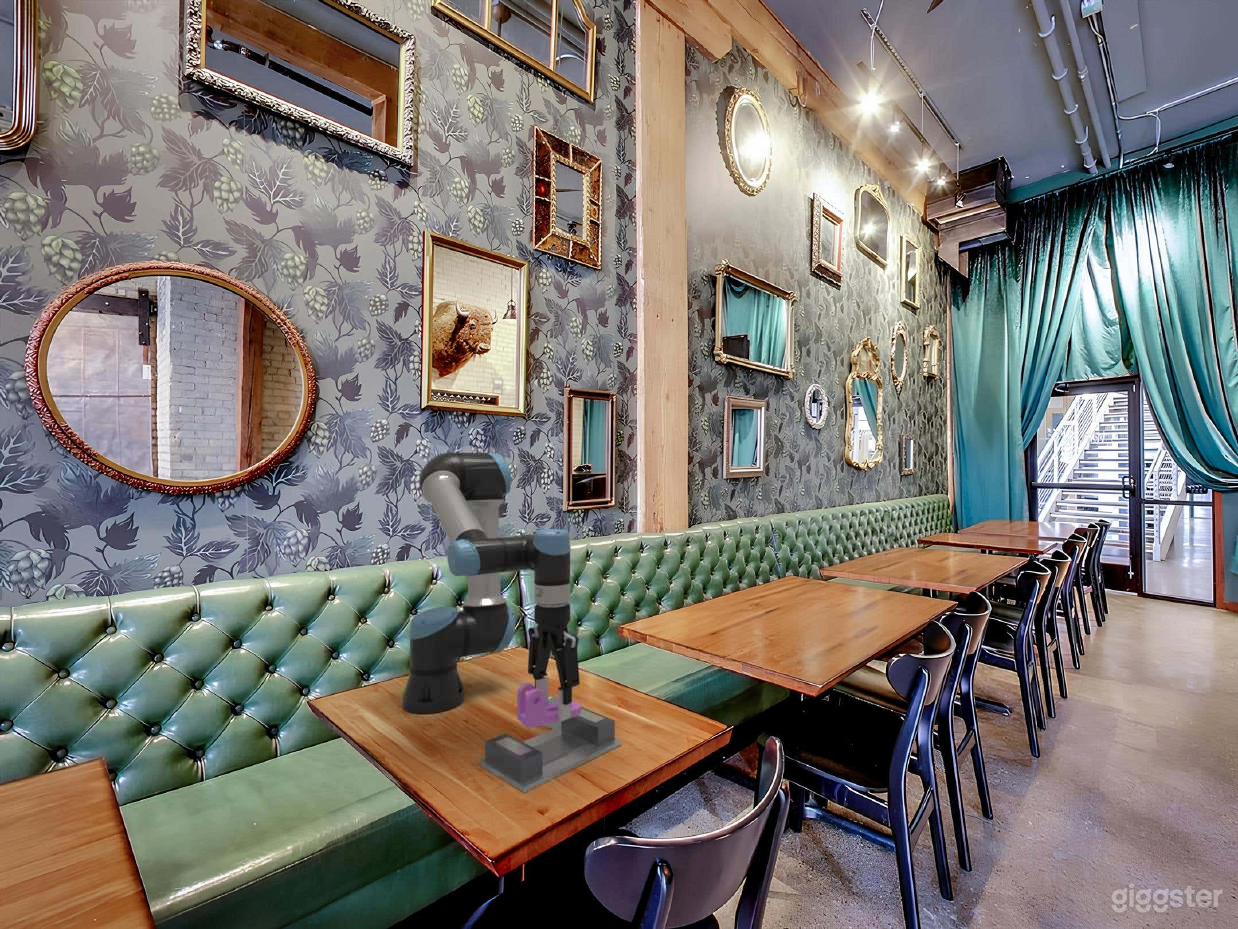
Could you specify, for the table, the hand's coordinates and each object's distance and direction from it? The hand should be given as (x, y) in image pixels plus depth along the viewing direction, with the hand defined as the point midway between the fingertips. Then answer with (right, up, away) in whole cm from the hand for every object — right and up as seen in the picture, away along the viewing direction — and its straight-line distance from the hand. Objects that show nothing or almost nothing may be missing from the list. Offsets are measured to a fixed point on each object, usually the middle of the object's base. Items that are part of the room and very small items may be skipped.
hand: (553, 714), depth 121 cm
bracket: (0, -1, 0) cm, 1 cm away
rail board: (0, -8, 0) cm, 8 cm away
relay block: (-2, -9, +16) cm, 18 cm away
